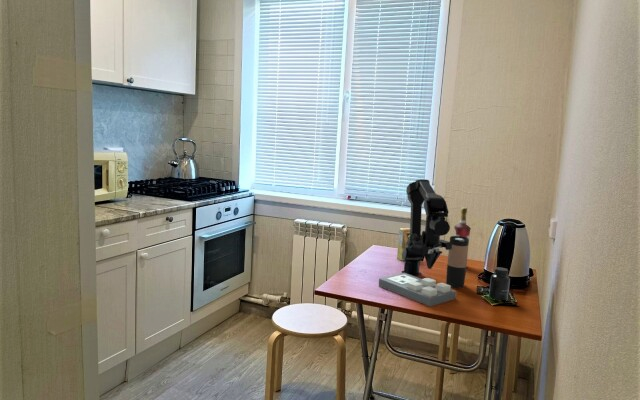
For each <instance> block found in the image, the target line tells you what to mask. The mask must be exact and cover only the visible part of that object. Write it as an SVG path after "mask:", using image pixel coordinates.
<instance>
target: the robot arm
mask: <svg viewBox="0 0 640 400" xmlns="http://www.w3.org/2000/svg"><path fill="white" fill-rule="evenodd" d="M406 195H407V199H408V202H409V203H410V218H409V220H410V223H409V228H410V238H409V239H408V241H407V242H406V247H405V248H404V250H403V253H402V259H403V260H402V261H404V264H403V265H404V268H403V270H402V271H401V273H406V274H409V275H412V276H415V277H416V276H419V275H422V274H423V273H422V272H421V271H420V265H421V263H420V262H425V263H426V267H427V269H428V270H431V269H432V268H433V266H434V264H435V263H436V261H438V258H440V255H441V254H443V251H442V250H440V249H441V248H444V249H445V250H446V251H449V250H450V249H452V244H451V242H450V241H448V240H444V239H441V236H445V235H448V233H449V232H450V229H451V227H450V223H449V222H448V221H447V220H446V218H448V217H449V209H448V205H447V201H446V200H445V198H444V197H443V196H442V195H440V194H437V193H436V192H435V190H434V189H433V187H432V185H431V183H430V180H429V179H425V178H424V179H421V178H419V179H416V180H415V181H413V182H411V183H409V184H408V185H407V186H406ZM422 208H424V211H425V216H426V217H425V227H424V230H422ZM424 260H425V261H424Z"/></svg>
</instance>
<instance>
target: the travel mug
mask: <svg viewBox="0 0 640 400" xmlns="http://www.w3.org/2000/svg"><path fill="white" fill-rule="evenodd" d="M449 242H451V244H452V249H450V250H448V251H447V252H448V254H447V263H446V278H445V279H446V280H445V281H446V282H445V284H447V285H450V286H451V288H455V289H461V288H463V287H464V286H465V281H466V280H465V279H466V274H467V273H466V272H467V266H468V265H467V264H468V252H469V242H470V238H469V239H468V238H466V237H461V236H454V235H451V236H450V237H449Z"/></svg>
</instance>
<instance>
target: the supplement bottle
mask: <svg viewBox="0 0 640 400" xmlns="http://www.w3.org/2000/svg"><path fill="white" fill-rule="evenodd" d="M508 275H509V270H508V268H505V267H501V266H500V267H499V266H498V267H496V266H495V267H494V271H493V274H491V276H490V284H489V291H488V292H489V293H488V298H489V297H491V298H492V299H495V300H507V301H508V299H509V298H508V297H509V291H510V283H511V278H510V276H508ZM492 299H491V300H492Z"/></svg>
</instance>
